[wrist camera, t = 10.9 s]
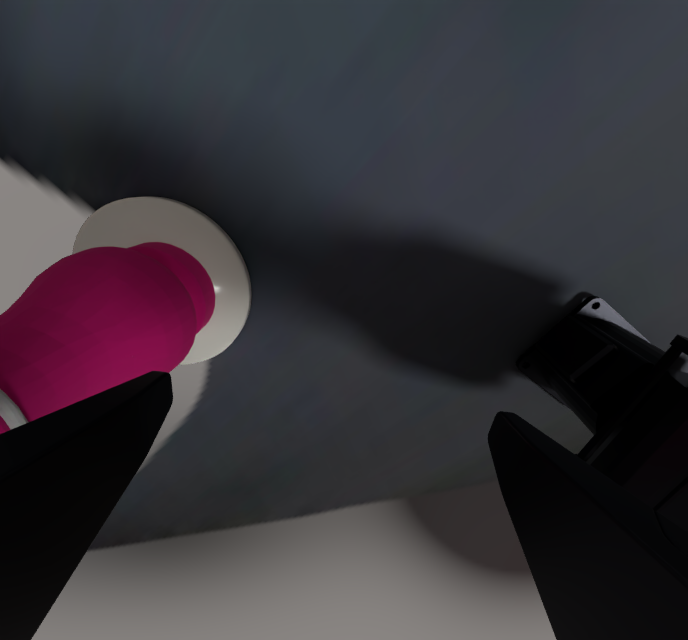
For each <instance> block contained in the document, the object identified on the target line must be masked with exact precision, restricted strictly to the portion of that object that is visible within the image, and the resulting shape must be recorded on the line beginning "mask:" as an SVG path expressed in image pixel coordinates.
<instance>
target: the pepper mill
mask: <svg viewBox="0 0 688 640" xmlns="http://www.w3.org/2000/svg"><path fill="white" fill-rule="evenodd" d="M214 308H215V291H214V286H213V283H212V281H211V278H210V276H209V275H208V273H207V271H206V270H205V268H204V267H203V266H202V265H201V264H200V263H199V261H198V260H197V259H196V258H194V257H193V256H192V255H190V254H189V253H187V252H186V251H184V250H183V249H181V248H178V247H176V246H174V245H171V244H168V243H163V242H146V243H142V244H139V245H135V246H132V247H129V248H121V247H114V246H107V247H95V248H90V249H86V250H83V251H80V252H78V253H75V254H72V255H70V256H67V257H65V258H62V259H61V260H59V261H58V262H56V263H55V264H53V265H52V266H51V267H49V268H48V269H46V270H45V271H44V272H42V273H41V274H40V275H38V276H37V277H36V278H35V279H34V281H33V282H32V283H31V284H30V286H29V287H28V288H27V289H26V290H25V292H24V293H23V294H22V295H21V297H20V298H19V299H18V300H17V301H16V302H15V303H14V304H13V305H12V306H11V307H10V308H9V309H8V310H7V311H5V312H4V313H3V314H1V315H0V434H1V433H4V432H6V431H9V430H11V429H13V428H16V427H18V426H21V425H23V424H26V423H28V422H30V421H33V420H35V419H38V418H40V417H42V416H45V415H47V414H50V413H52V412H54V411H57V410H59V409H62V408H64V407H66V406H69V405H71V404H74V403H76V402H78V401H81V400H83V399H86V398H88V397H90V396H93V395H95V394H98V393H100V392H102V391H105V390H107V389H110V388H112V387H115V386H117V385H119V384H122V383H124V382H127V381H129V380H131V379H134V378H136V377H139V376H141V375H143V374H146V373H148V372H151V371H162V372H168V373H169V372H170V371H172V370H173V369H174V368H175V367H176V366H177V365H179V364H180V363H181V362H182V361H183V360H184V359H185V357H186V356H187V355H188V353H189V351H190V349H191V347H192V345H193V343H194V340H195V336H196V334H197V333H198V332H199V331H200V330H201V329H202V328H203V327H205V325H206V324H207V323H208V322H209V320H210V319H211V317H212V315H213V312H214Z"/></svg>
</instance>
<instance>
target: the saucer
mask: <svg viewBox="0 0 688 640" xmlns="http://www.w3.org/2000/svg"><path fill="white" fill-rule="evenodd" d="M146 242H163V243H168V244H171V245H174V246H176V247H178V248H181V249H183V250H184V251H186V252H187V253H189V254H190V255H192V256H193V257H194V258H196V259H197V260H198V261H199V263H200V264H201V265H202V266H203V267H204V268H205V270H206V271H207V273H208V275H209V276H210V278H211V281H212V283H213V286H214V291H215V308H214V312H213V315H212V317H211V319H210V320H209V322H208V323H207V324H206V325H205V327H203V328H202V329H201V330H200V331H199V332H198V333H197V334H196V336H195V340H194V343H193V345H192V347H191V349H190V351H189V353H188V355H187V356H186V357H185V359H184V360H183V361H182V362H181V363H180V364H179V365H181V364H192V363H199V362H202V361H205V360H208V359H210V358H212V357H215V356H216V355H218V354H219V353H221V352H223V351H224V350H225V349H226V348H227V347H228V346H229V345H231V343H232V342H233V341H234V340H235V338H236V337H237V336H238V334H239V333H240V332H241V330H242V329H243V327H244V325H245V323H246V321H247V318H248V316H249V312H250V308H251V300H252V290H251V281H250V276H249V273H248V269H247V266H246V264H245V261H244V259H243V257H242V255H241V253H240V251H239V250H238V248H237V246H236V245H235V243H234V242H233V241H232V239H231V238H230V237H229V236H228V234H227V233H226V232H225V231H224V230H223V229H222V228H221V227H220V226H219V225H218V224H217V223H216V222H214V221H213V220H212V219H211V218H209V217H208V216H207V215H205V214H204V213H202V212H200V211H199V210H197V209H196V208H193V207H191V206H189V205H187V204H185V203H182V202H179V201H176V200H173V199H169V198H164V197H155V196H144V197H133V198H125V199H121V200H117V201H114V202H111V203H109V204H106V205H104V206H103V207H101V208H100V209H98V210H96V211H95V212H94V213H93V214H92V215H91V216H90V217H89V218H88V219H87V220H86V221H85V223H84V224H83V225H82V227H81V229H80V231H79V233H78V235H77V237H76V240H75V243H74V248H73V254H75V253H78V252H80V251H83V250H86V249H90V248H95V247H107V246H114V247H121V248H129V247H132V246H135V245H139V244H142V243H146Z"/></svg>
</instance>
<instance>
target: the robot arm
mask: <svg viewBox="0 0 688 640" xmlns="http://www.w3.org/2000/svg"><path fill="white" fill-rule="evenodd" d="M595 302H596V304H595V306H593V307H592V304H593V303H595ZM670 344H671V347H670V348H669V349H668V350H667V351H666V352H664V351H663V350H661V349H659V348H657V347H656V346H654V345H652V344H651V343H650V342H649V341H648V340H647V339H646V338H645V337H643V336H642V335H641V334H640V333H639V332H638V331H637V330H636V329H635V328H634V327H632V326H631V325H630V324H629V323H628V322H627V321H626V320H625V319H624V318H623V317H621V316H620V315H619V314H618V313H617V312H616V311H615V310H614V309H613V308H612V307H610V306H609V305H608V304H607V303H606V302H605V301H604V300H603V299H601V298H599V297H597V296H591V297H589V298H587V299H586V300H585V301H584V302H583V303H581V304H580V305H579V306H578V307H577V308H576V309H574V310H573V311H572V312H571V313H570V314H569V315H568V316H566V317H565V318H564V319H563V320H562V321H561V322H559V323H558V324H557V325H556V326H555V327H554V328H553V329H551V330H550V331H549V332H548V333H547V334H546V335H545V336H543V337H542V338H541V339H540V340H539V341H538V342H537V343H536V344H534V345H533V346H532V347H531V348H530V349H529V350H528V351H526V352H525V353H524V354H523V355H522V356H521V357H520V358H518V360H517V361H516V366H517V367H518V368H519V369H520V371H522V372H523V373H524V374H526V375H527V376H528V377H529V378H531V379H532V380H533V381H535V382H536V383H537V384H539V385H540V386H541V387H542V388H544V389H545V390H546V391H548V392H549V393H550V394H551V395H553V396H554V397H555V398H557V399H558V400H559V401H560V402H562V403H563V404H564V405H566V406H567V407H568V408H569V409H571V410H572V411H573V412H574V413H575V414H576V415H577V417H578V418H579V419H580V420H581V421H582V422H583V423H584V424H585V426H586V427H587V428H588V429H589V430H590V431H591V432H592V433H593V434H594V436H593V437H592V438H591V439H590V441H589V442H588V443H587V444H586V445H585V446H584V448H583V449H582V450H581V451H580V452H579V453H578V454H573V453H572V452H570V451H569V450H567V449H566V448H564V447H563V446H562V445H560V444H559V443H557V442H556V441H554V440H553V439H551V438H550V437H548V436H547V435H545V434H544V433H543V432H541V431H540V430H538V429H537V428H535V427H534V426H532V425H531V424H529V423H528V422H527V421H525V420H524V419H522V418H521V417H519V416H518V415H516V414H515V413H511V412H502V411H500V412H498V413H497V414H496V416H495V418H494V421H493V423H492V426H491V428H490V431H489V433H488V444H489V448H490V451H491V455H492V459H493V463H494V466H495V470H496V474H497V478H498V482H499V485H500V489H501V492H502V495H503V498H504V501H505V504H506V507H507V509H508V512H509V515H510V517H511V520H512V523H513V525H514V528H515V531H516V533H517V536H518V539H519V541H520V544H521V546H522V549H523V552H524V554H525V557H526V559H527V562H528V565H529V568H530V570H531V573H532V576H533V578H534V581H535V584H536V586H537V589H538V592H539V594H540V597H541V600H542V602H543V605H544V608H545V610H546V613H547V615H548V618H549V621H550V623H551V626H552V629H553V631H554V634H555V637H556V639H557V640H688V338H686V337H683V336H681V335H677V336H676V337H675V338H674V339H673V340H672V342H671V343H670ZM525 362H527V364H526V365H523V363H525ZM522 365H523V366H522ZM172 401H173V393H172V382H171V376H170V374H169V373H168V372H162V371H151V372H148V373H146V374H143V375H141V376H139V377H136V378H134V379H131V380H129V381H127V382H124V383H122V384H119V385H117V386H115V387H112V388H110V389H107V390H105V391H102V392H100V393H98V394H95V395H93V396H90V397H88V398H86V399H83V400H81V401H78V402H76V403H74V404H71V405H69V406H66V407H64V408H62V409H59V410H57V411H54V412H52V413H50V414H47V415H45V416H42V417H40V418H38V419H35V420H33V421H30V422H28V423H26V424H23V425H21V426H18V427H16V428H13V429H11V430H9V431H6V432H4V433H1V434H0V640H31V639H32V637H33V636H34V634H35V632H36V631H37V629H38V628H39V626H40V624H41V623H42V621H43V620H44V618H45V617H46V615H47V613H48V612H49V610H50V609H51V607H52V605H53V604H54V602H55V601H56V599H57V598H58V596H59V594H60V593H61V591H62V590H63V588H64V586H65V585H66V583H67V582H68V580H69V579H70V577H71V575H72V574H73V572H74V570H75V569H76V567H77V566H78V564H79V563H80V561H81V560H82V558H83V556H84V555H85V553H86V552H87V550H88V548H89V547H90V545H91V544H92V542H93V541H94V539H95V537H96V536H97V534H98V533H99V531H100V529H101V528H102V526H103V525H104V523H105V522H106V520H107V518H108V517H109V515H110V514H111V512H112V510H113V509H114V507H115V506H116V504H117V502H118V501H119V499H120V498H121V496H122V495H123V493H124V491H125V490H126V488H127V487H128V485H129V483H130V482H131V480H132V479H133V477H134V476H135V474H136V472H137V471H138V469H139V468H140V466H141V464H142V463H143V461H144V459H145V458H146V456H147V454H148V452H149V450H150V448H151V446H152V444H153V442H154V440H155V438H156V436H157V434H158V432H159V430H160V428H161V426H162V424H163V422H164V420H165V418H166V415H167V413H168V412H169V410H170V407H171V405H172Z"/></svg>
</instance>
